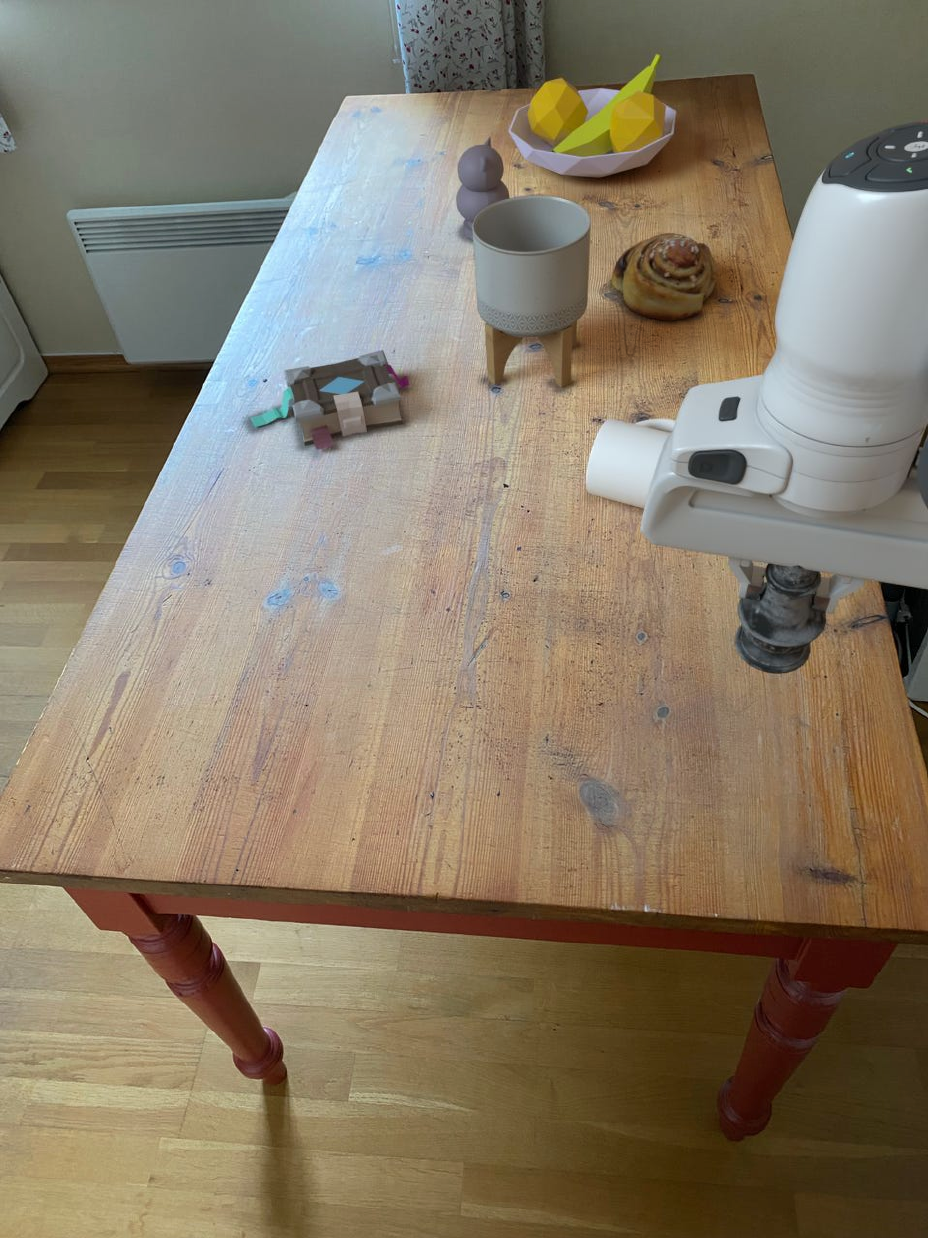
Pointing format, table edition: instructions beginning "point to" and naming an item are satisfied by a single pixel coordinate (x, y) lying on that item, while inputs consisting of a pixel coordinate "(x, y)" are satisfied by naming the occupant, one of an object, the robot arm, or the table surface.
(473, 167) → the grey bird figurine
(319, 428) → the book
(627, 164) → the fruit bowl
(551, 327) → the planter
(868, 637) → the table surface
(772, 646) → the chess piece
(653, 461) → the mug
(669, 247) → the pastry
